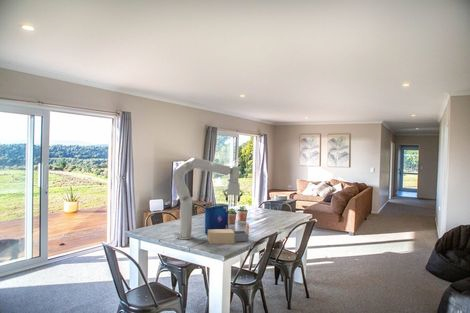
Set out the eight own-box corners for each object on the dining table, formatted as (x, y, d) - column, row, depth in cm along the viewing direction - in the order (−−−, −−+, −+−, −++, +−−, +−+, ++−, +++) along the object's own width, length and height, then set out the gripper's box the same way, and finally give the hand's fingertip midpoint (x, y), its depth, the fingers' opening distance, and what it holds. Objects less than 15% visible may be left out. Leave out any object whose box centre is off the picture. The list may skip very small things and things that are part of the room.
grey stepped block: (224, 241, 246) (225, 225, 246) (222, 238, 255) (222, 222, 255) (249, 240, 250) (249, 225, 250) (246, 237, 260) (246, 222, 260)
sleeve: (209, 243, 242) (209, 233, 242) (207, 239, 254) (207, 229, 254) (234, 242, 246) (234, 232, 246) (231, 238, 258) (231, 228, 258)
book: (207, 236, 264) (208, 206, 264) (203, 234, 270) (204, 205, 270) (228, 232, 277) (229, 204, 277) (224, 231, 283) (224, 203, 283)
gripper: (224, 181, 257) (223, 202, 257) (245, 182, 261) (243, 202, 261) (223, 180, 265) (221, 200, 265) (243, 181, 268) (241, 201, 268)
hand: (232, 201), depth 263 cm, fingers open, 9 cm apart
